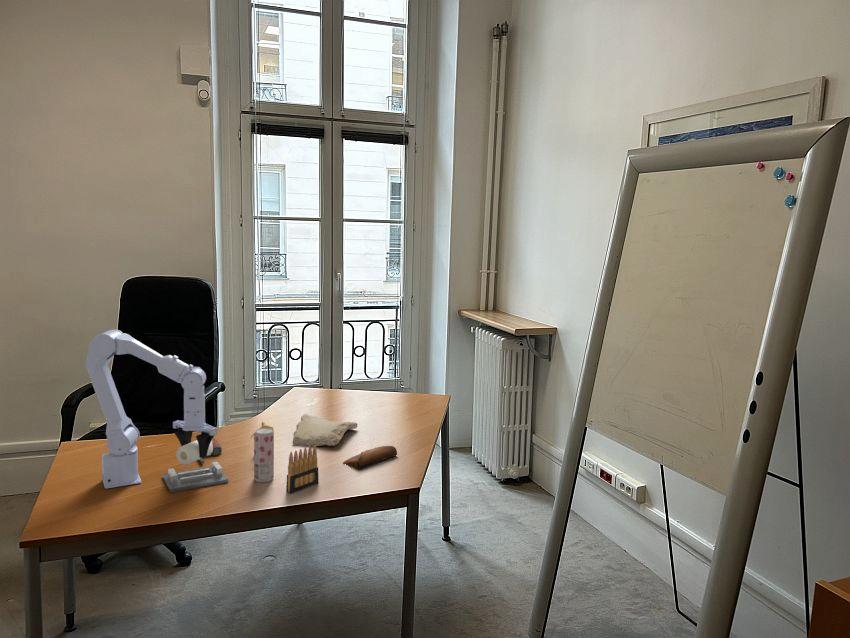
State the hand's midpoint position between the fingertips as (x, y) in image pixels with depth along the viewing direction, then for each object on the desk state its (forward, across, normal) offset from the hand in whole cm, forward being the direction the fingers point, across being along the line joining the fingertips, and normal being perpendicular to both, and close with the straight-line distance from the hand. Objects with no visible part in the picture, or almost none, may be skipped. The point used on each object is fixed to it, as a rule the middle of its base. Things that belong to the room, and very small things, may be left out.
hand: (195, 455), depth 185 cm
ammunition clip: (+8, +31, +10) cm, 33 cm away
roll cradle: (+8, 0, 0) cm, 8 cm away
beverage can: (+8, +17, +10) cm, 21 cm away
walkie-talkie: (+8, -12, +19) cm, 24 cm away
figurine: (+8, +5, +24) cm, 26 cm away
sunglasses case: (+8, +38, +39) cm, 55 cm away
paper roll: (+2, 0, 0) cm, 2 cm away
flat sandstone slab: (+8, +12, +52) cm, 54 cm away
